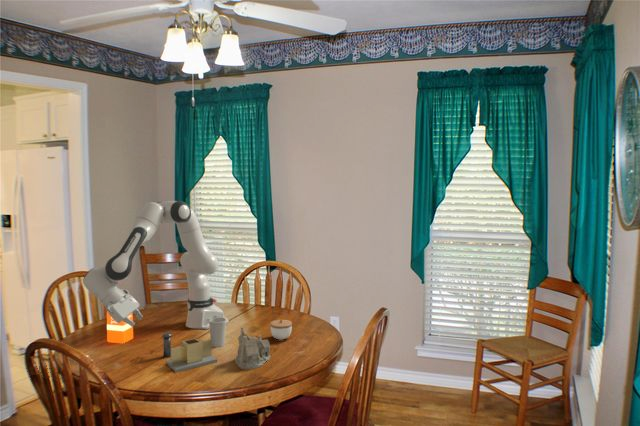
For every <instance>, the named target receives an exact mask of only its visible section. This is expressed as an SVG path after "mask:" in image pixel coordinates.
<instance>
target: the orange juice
mask: <svg viewBox="0 0 640 426" xmlns="http://www.w3.org/2000/svg"><path fill="white" fill-rule="evenodd" d="M133 314H134V313H132V314H130V315H129V316H128V317H129V319H130V320H132V321H134V316H133ZM106 333H107V334H106V338H107V339H106V340H107V343H113V344H123V343H124V344H126V343H127V342H129V341H131V340H133V339H134V326H133V327H131V326H130V325H129V324H127V323H125V322H124V321H122V322H120V323H117V322H116V321H115V320H114V319H113V318H112V317H111V316H110V315H109V314H108V312H107V311H106ZM125 342H126V343H125Z"/></svg>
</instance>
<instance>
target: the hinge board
mask: <svg viewBox="0 0 640 426" xmlns="http://www.w3.org/2000/svg"><path fill="white" fill-rule="evenodd" d="M165 363H166V365H167V366H169V368H170V369H172V370H173V371H174V372H175V373H179V372H183V371H187V370H192V369H194V368H199V367H202V366H207V365H211V364H214V363H218V358H217V357H215V356H214V355H212V356H207V357H203V358H202V361H199V362H195V363H191V364H186V363H185V362H183V363H179V364H175V365H171V359H168V360H166V361H165Z"/></svg>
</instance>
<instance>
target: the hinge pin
mask: <svg viewBox="0 0 640 426" xmlns="http://www.w3.org/2000/svg"><path fill="white" fill-rule="evenodd" d="M161 336H162V339H163V342H162V343H163V344H162V345H163V358H165V359H167V358H171V348H172V347H171V343H172V341H171V340H172V339H171V337H172V336H173V334H172V332H163V333H162V334H161Z"/></svg>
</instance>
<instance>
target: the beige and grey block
mask: <svg viewBox="0 0 640 426" xmlns="http://www.w3.org/2000/svg"><path fill="white" fill-rule="evenodd" d="M180 343H181V344H180V345H179V346H175V347H171V357H170V360H171V365H175V364H179V363H183V362H185V363H186V364H191V363H195V362H199V361H202V358H203V357H207V356H213V351H212V350H213V349H212V348H213V347H212V340H211V339H206V340H203V341H201V340H200V339H198V338H197V337H194V338H189V339H185V340H181V342H180Z"/></svg>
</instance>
